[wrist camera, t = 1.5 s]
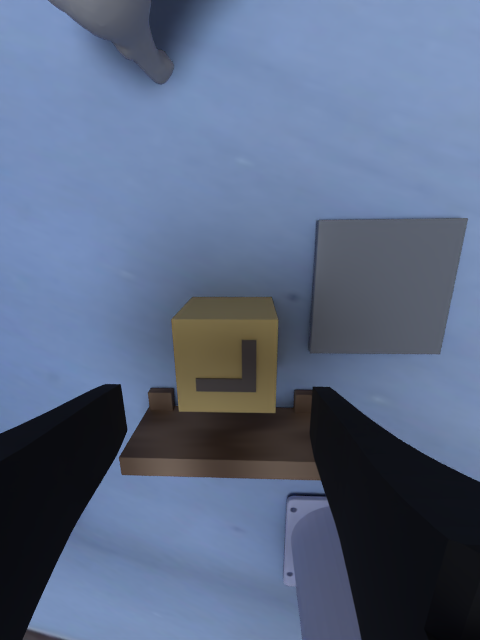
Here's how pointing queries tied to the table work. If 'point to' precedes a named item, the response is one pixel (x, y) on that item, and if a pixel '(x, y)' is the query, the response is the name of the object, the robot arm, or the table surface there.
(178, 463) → the wooden board
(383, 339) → the coaster
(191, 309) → the cube
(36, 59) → the table surface
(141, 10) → the dog figurine
